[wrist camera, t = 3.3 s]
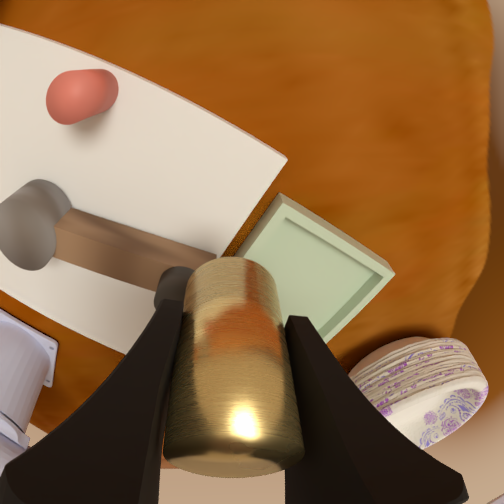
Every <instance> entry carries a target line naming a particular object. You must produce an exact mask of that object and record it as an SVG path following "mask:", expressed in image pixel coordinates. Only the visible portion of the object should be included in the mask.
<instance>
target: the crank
mask: <svg viewBox="0 0 504 504" xmlns="http://www.w3.org/2000/svg"><path fill="white" fill-rule="evenodd" d="M0 250H1V252H2V253H3V254H4V256H5V257H6V258H7V259H8V260H9V261H10V262H12V263H13V264H14V265H16V266H17V267H19V268H22V269H24V270H28V271H36V270H40V269H42V268H43V267H45V266H46V265H47V263H48V262H49V261H50V259H51V258H52V257H55V258H57V259H60V260H63V261H65V262H68V263H71V264H74V265H76V266H79V267H82V268H85V269H88V270H90V271H93V272H96V273H99V274H102V275H105V276H108V277H111V278H114V279H117V280H120V281H123V282H126V283H129V284H132V285H135V286H138V287H141V288H144V289H148V290H151V291H154V292H156V293H155V297H154V307H155V309H157V307H158V305H159V303H160V301H161V300H163V299H170V300H176V301H183V302H184V298H185V292H186V287H187V283H188V280H189V278H190V277H191V275H192V274H193V272H194V271H195V270H196V269H197V268H199V267H200V266H201V265H203V264H205V263H206V262H209V261H211V260H214V259H216V258H217V255H216V254H213V253H210V252H207V251H204V250H200V249H197V248H194V247H191V246H188V245H185V244H182V243H179V242H175V241H172V240H169V239H166V238H163V237H160V236H157V235H154V234H151V233H147V232H144V231H141V230H138V229H135V228H132V227H129V226H126V225H123V224H120V223H117V222H114V221H111V220H108V219H105V218H102V217H99V216H96V215H92V214H89V213H86V212H83V211H80V210H77V209H74V208H71V205H70V202H69V200H68V198H67V197H66V195H65V194H64V193H63V191H62V190H61V189H60V188H59V187H58V186H56V185H55V184H53V183H52V182H50V181H47V180H43V179H35V180H32V181H29V182H28V183H26V184H25V185H24V186H22V187H21V188H20V189H18V190H17V191H16V192H14V193H13V194H12V195H10V196H9V197H8V198H7V199H5V200H4V201H3V202H1V203H0Z"/></svg>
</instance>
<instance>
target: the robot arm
mask: <svg viewBox="0 0 504 504" xmlns="http://www.w3.org/2000/svg"><path fill="white" fill-rule="evenodd" d="M183 307H184V302H183V301H176V300H170V299H163V300H161V301H160V303H159V305H158V307H157V309H156V311H155V312H154V314H153V316H152V318H151V319H150V321H149V322H148V324H147V326H146V327H145V329H144V330H143V332H142V333H141V335H140V336H139V337H138V339H137V340H136V342H135V343H134V345H133V346H132V347H131V349H130V350H129V351H128V353H127V354H126V355H125V357H124V358H123V359H122V360H121V362H120V363H119V364H118V365H117V367H116V368H115V369H114V370H113V372H112V373H111V374H110V375H109V376H108V377H107V379H106V380H105V381H104V382H103V383H102V384H101V385H100V386H99V388H98V389H97V390H96V391H95V392H94V393H93V394H92V395H91V396H90V397H89V398H88V399H87V400H86V401H85V402H84V403H83V404H82V405H81V406H80V407H79V408H78V409H77V410H76V411H75V412H74V413H73V414H71V415H70V416H69V417H68V418H67V419H66V420H65V421H64V422H62V423H61V424H60V425H59V426H58V427H56V428H55V429H54V430H53V431H51V432H50V433H49V434H48V435H47V436H45V437H44V438H43V439H42V440H40V441H39V442H38V443H36V444H35V445H34V446H32V447H30V446H28V443H29V440H30V438H29V437H28V436H27V435H25V432H26V429H27V426H28V423H29V421H30V418H31V415H32V413H33V410H34V407H35V404H36V402H37V399H38V396H39V394H40V391H41V388H42V386H43V385H45V386H47V387H52V383H53V376H54V369H55V362H56V356H57V350H58V343H57V341H55V340H54V339H52V338H50V337H48V336H46V335H44V334H43V333H41V332H39V331H37V330H35V329H33V328H32V327H30V326H28V325H26V324H25V323H23V322H21V321H20V320H18V319H16V318H14V317H13V316H11V315H10V314H8V313H6V312H5V311H3V310H1V309H0V504H158V496H159V480H160V466H161V454H162V444H163V437H164V431H165V426H166V419H167V411H168V403H169V395H170V388H171V380H172V373H173V366H174V359H175V354H176V349H177V344H178V340H179V335H180V328H181V322H182V316H183ZM284 331H285V337H286V343H287V348H288V354H289V360H290V366H291V372H292V377H293V383H294V389H295V395H296V401H297V407H298V413H299V420H300V426H301V432H302V438H303V444H304V451H305V454H304V457H303V458H302V459H301V460H300V461H299V462H298V463H296V464H295V465H293V466H291V467H289V468H287V469H285V504H462V503H464V502H466V501H467V500H468V499H469V496H468V493H467V489H466V486H465V483H464V480H463V477H462V475H461V474H460V473H458V472H456V471H455V470H453V469H451V468H450V467H448V466H446V465H444V464H443V463H441V462H439V461H438V460H436V459H435V458H433V457H432V456H430V455H429V454H427V453H426V452H425V451H423V450H422V449H421V448H419V447H418V446H417V445H415V444H414V443H413V442H412V441H410V440H409V439H408V438H407V437H406V436H404V435H403V434H402V433H401V432H400V431H399V430H398V429H396V428H395V427H394V426H393V425H392V424H391V423H390V422H389V421H388V420H387V419H386V418H385V417H384V416H383V415H382V414H381V413H380V412H379V411H378V410H377V409H376V408H375V407H374V406H373V405H372V404H371V402H370V401H369V400H368V399H367V398H366V397H365V396H364V395H363V393H362V392H361V391H360V390H359V388H358V387H357V386H356V385H355V383H354V382H353V381H352V380H351V378H350V377H349V376H348V375H347V373H346V372H345V371H344V369H343V368H342V366H341V365H340V364H339V362H338V361H337V359H336V358H335V357H334V355H333V354H332V352H331V351H330V349H329V348H328V346H327V345H326V343H325V342H324V341H323V339H322V338H321V336H320V335H319V333H318V332H317V330H316V329H315V327H314V326H313V324H312V323H311V321H310V320H309V318H308V317H306V316H296V315H289V317H288V319H287V322H286V324H285V327H284ZM487 504H504V494H502V495H500V496H499V497H497V498H495V499H494V500H492V501H490V502H488V503H487Z"/></svg>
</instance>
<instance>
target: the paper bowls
mask: <svg viewBox="0 0 504 504" xmlns="http://www.w3.org/2000/svg"><path fill="white" fill-rule="evenodd" d="M348 376H349V377H350V378H351V380H352V381H353V382H354V383H355V385H356V386H357V387H358V388H359V390H360V391H361V392H362V393H363V395H364V396H365V397H366V398H367V399H368V400H369V401H370V402H371V404H372V405H373V406H374V407H375V408H376V409H377V410H378V411H379V412H380V413H381V414H382V415H383V416H384V417H385V418H386V419H387V420H388V421H389V422H390V423H391V424H392V425H393V426H394V427H395V428H396V429H398V430H399V431H400V432H401V433H402V434H403V435H404V436H406V437H407V438H408V439H409V440H410V441H412V442H413V443H414V444H415V445H417V446H418V447H419V448H421V449H422V450H423V449H425V448H427V447H429V446H431V445H433V444H435V443H436V442H438V441H440V440H442V439H443V438H445V437H446V436H448V435H450V434H451V433H452V432H454V431H455V430H457V429H458V428H459V427H460V426H462V425H463V424H464V423H465V422H466V421H467V420H469V419H470V418H471V417H472V416H473V415H474V414H475V413H476V412H477V410H478V409H479V408H480V406H481V405H482V404H483V402H484V401H485V399H486V396H487V393H488V382H487V381H486V379H485V377H484V375H483V374H482V372H481V370H480V368H479V367H478V365H477V363H476V361H475V360H474V358H473V356H472V355H471V353H470V351H469V349H468V348H467V347H466V345H465V344H463V343H462V342H461V341H459V340H456V339H452V338H436V339H429V338H426V337H409V338H404V339H400V340H397V341H394V342H391V343H389V344H386V345H384V346H382V347H380V348H378V349H377V350H375V351H373V352H372V353H370V354H369V355H367V356H366V357H365V358H363V359H362V360H361V361H360V362H359V363H358V364H357V365H356V366H355V367H354V368H353V369H352V370H351V372H350V373H349V374H348Z"/></svg>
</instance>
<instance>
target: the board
mask: <svg viewBox="0 0 504 504" xmlns="http://www.w3.org/2000/svg"><path fill="white" fill-rule="evenodd" d="M85 69H105V70H108V71H110V72H111V73H112V74H113V75H114V76H115V77H116V79H117V82H118V86H119V91H118V96H117V99H116V101H115V103H114V104H113V105H112V106H111V107H110V108H109V109H108V110H106V111H104V112H102V113H99V114H97V115H94V116H91V117H89V118H86V119H84V120H81V121H79V122H77V123H74V124H71V125H63V124H60V123H58V122H56V121H55V120H53V119H52V117H51V116H50V115H49V113H48V110H47V107H46V94H47V90H48V88H49V86H50V84H51V82H52V81H53V80H54V79H55V78H56V77H57V76H58V75H59V74H61V73H63V72H66V71H71V70H85ZM286 162H287V158H286V156H285V155H283V154H281V153H280V152H278V151H277V150H275V149H273V148H272V147H270V146H269V145H267V144H265V143H264V142H262V141H260V140H259V139H257V138H255V137H254V136H252V135H250V134H249V133H247V132H245V131H244V130H242V129H240V128H238V127H237V126H235V125H233V124H231V123H230V122H228V121H226V120H224V119H223V118H221V117H219V116H217V115H215V114H214V113H212V112H210V111H208V110H206V109H204V108H203V107H201V106H199V105H197V104H195V103H193V102H191V101H189V100H188V99H186V98H184V97H182V96H180V95H178V94H176V93H174V92H172V91H170V90H168V89H166V88H164V87H162V86H160V85H158V84H156V83H154V82H152V81H149V80H147V79H145V78H143V77H141V76H139V75H137V74H135V73H132V72H130V71H128V70H126V69H123V68H121V67H119V66H117V65H114V64H112V63H110V62H107V61H105V60H103V59H100V58H98V57H95V56H93V55H91V54H88V53H86V52H83V51H81V50H78V49H75V48H73V47H70V46H67V45H65V44H62V43H59V42H57V41H54V40H51V39H48V38H45V37H42V36H39V35H36V34H33V33H30V32H27V31H24V30H21V29H17V28H14V27H11V26H7V25H4V24H0V203H1V202H3V201H4V200H5V199H7V198H8V197H9V196H10V195H12V194H13V193H14V192H16V191H17V190H18V189H20V188H21V187H22V186H24V185H25V184H26V183H28V182H29V181H32V180H35V179H43V180H47V181H50V182H52V183H53V184H55V185H56V186H58V187H59V188H60V189H61V190H62V191H63V193H64V194H65V195H66V197H67V198H68V200H69V202H70V205H71V208H74V209H77V210H80V211H83V212H86V213H89V214H92V215H96V216H99V217H102V218H105V219H108V220H111V221H114V222H117V223H120V224H123V225H126V226H129V227H132V228H135V229H138V230H141V231H144V232H147V233H151V234H154V235H157V236H160V237H163V238H166V239H169V240H172V241H175V242H179V243H182V244H185V245H188V246H191V247H194V248H197V249H200V250H204V251H207V252H210V253H213V254H216V255H217V258H220V257H221V255H222V254H223V252H224V251H225V249H226V248H227V246H228V245H229V244H230V242H231V241H232V239H233V238H234V236H235V235H236V233H237V232H238V230H239V229H240V228H241V226H242V225H243V223H244V222H245V220H246V219H247V217H248V216H249V214H250V213H251V212H252V210H253V209H254V207H255V206H256V204H257V203H258V202H259V200H260V199H261V197H262V196H263V194H264V193H265V192H266V190H267V189H268V187H269V186H270V184H271V183H272V182H273V180H274V179H275V177H276V176H277V174H278V173H279V172H280V170H281V169H282V167H283V166H284V165H285V163H286ZM217 258H216V259H217ZM0 289H1V290H2V291H4V292H5V293H7V294H9V295H10V296H12V297H14V298H15V299H17V300H19V301H20V302H22V303H24V304H25V305H27V306H29V307H31V308H32V309H34V310H36V311H38V312H39V313H41V314H43V315H45V316H47V317H49V318H50V319H52V320H54V321H56V322H58V323H60V324H62V325H64V326H66V327H68V328H70V329H72V330H74V331H76V332H78V333H80V334H82V335H84V336H86V337H88V338H90V339H92V340H94V341H96V342H99V343H101V344H103V345H105V346H107V347H110V348H112V349H114V350H116V351H119V352H121V353H123V354H127V353H128V351H129V350H130V349H131V347H132V346H133V345H134V343H135V342H136V340H137V339H138V337H139V336H140V335H141V333H142V332H143V330H144V329H145V327H146V326H147V324H148V322H149V321H150V319H151V318H152V316H153V314H154V312H155V311H156V309H155V307H154V297H155V293H156V292H154V291H151V290H148V289H144V288H141V287H138V286H135V285H132V284H129V283H126V282H123V281H120V280H117V279H114V278H111V277H108V276H105V275H102V274H99V273H96V272H93V271H90V270H88V269H85V268H82V267H79V266H76V265H74V264H71V263H68V262H65V261H63V260H60V259H57V258H55V257H52V258H51V259H50V261H49V262H48V263H47V265H46V266H45V267H43V268H42V269H40V270H36V271H28V270H24V269H22V268H19V267H17V266H16V265H14V264H13V263H12V262H10V261H9V260H8V259H7V258H6V257H5V256H4V254H3V253H2V252H1V250H0Z"/></svg>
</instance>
